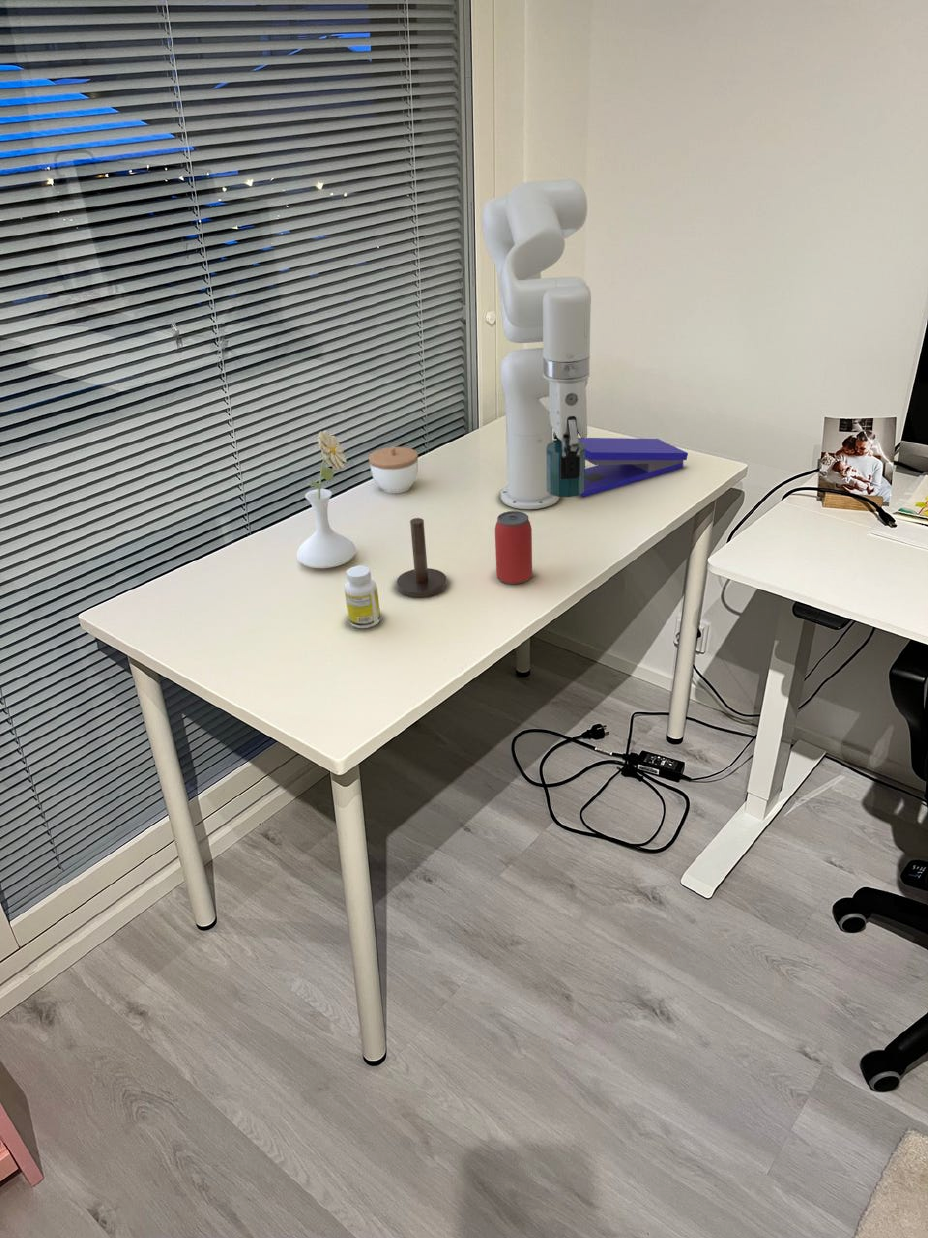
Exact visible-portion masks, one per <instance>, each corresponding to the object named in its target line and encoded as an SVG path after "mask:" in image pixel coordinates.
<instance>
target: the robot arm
mask: <svg viewBox="0 0 928 1238" xmlns="http://www.w3.org/2000/svg"><path fill="white" fill-rule="evenodd" d="M587 215H588V199H587V195H586V193H585V190H584V188H583V186H582V185H581V184H580V183H579V182H578V181H576V180H575V179H572V178H571V179H569V178H565V179H549V180H548V179H547V180H534V181H527V182H523V183H519V184H518V185H516V186H514V187H513V188H511V190H510V191H509V193H508V194H507V195H501V196H497V197H494V198H492V199H489V200H488V201H487V202H486V203H485V204H484V205H483V208H482V211H481V228H482V233H483V239H484V242H485V246H486V248H487V251H488V254H489V256H490V258H491V260H492V263H493V265H494V269H495V271H496V274H497V282H498V283H497V284H498V292H499V303H500V312H501V313H500V314H501V323H502V328H503V333H504V336H505V337H506V339H507V340H508V341H509V342H511V343H514V344H515V343H516V344H532V343H542V347H536V348H524V349H519V350H515V351H511V352H509V353H508V354H506V355H505V356H504V357H503V358H502V360H501V362H500V365H499V376H500V377H499V378H500V382H501V389H502V394H503V401H504V411H505V433H506V434H505V436H506V437H505V438H506V439H505V440H506V442H505V443H506V476H507V477H506V479H507V485H506V486H505V487H504V488H502V490H501V491H500V500H501V501H502V503H504V505H507V506H508V507H512V508H515V509H520V510H539V509H543V508H547V507H551V506H552V505H555V503H557V502H558V501H559V500H560V497H557V496H553V495H551V494H549V493H548V492H547V445H548V444H549V443H551V442H554V441H558V440H561V444H562V456H560V477H561V479H571V478H579V476H580V452H579V438H583V439H586V438H588V409H587V408H588V407H587V404H588V403H587V390H586V388H587V385H588V382H589V377H590V367H591V366H590V365H591V364H590V363H591V362H590V361H591V359H590V358H591V305H592V295H591V288H590V286H588V285H587V283H586V281H585V280H584V279H583V278H581V277H580V276H560V277H559V276H558V277H545V278H544V277H543V278H542V272H543V271H545V270H547V269H549V268H550V267H552V266H553V265H555V264H556V263H557V262H558V261H559V260H560V258H561V257H562V255H563V254H564V251H565V248H566V247H565V246H566V241H565V239H568V238H569V237H571V236H572V235H574V234H575V233H577V232H578V231H579V230H581V228H582V227H583V226H584V224H585V223H586V219H587ZM544 398H548V406H549V407H546V406H545V405H544V403H542V401H541V399H544ZM566 442H569V445H567V447H566Z"/></svg>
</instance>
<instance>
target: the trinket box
mask: <svg viewBox="0 0 928 1238" xmlns="http://www.w3.org/2000/svg"><path fill="white" fill-rule="evenodd" d="M418 459H419V454H418V452H417V450H415V449H414V448H411V447H407V446H388V447H387V446H386V447H383V448H379V449H377V450H374V451H373V452H372V453H370V454H369V456H368V462H369V468H370V473H371V477H372V479H373V481H374V483H375V484H376V485H377V486H378V487H379V488H380V489H382V491H383V492H384V493H387V494H391V495H393V494H395V495H396V494H402V493H406V492H407V491H409V490H410V488H411V486H412V485H413V484H414V483H415V481H416V479H417V477H418V471H419V460H418ZM388 490H389V491H388ZM397 490H398V491H397Z"/></svg>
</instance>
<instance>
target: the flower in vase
mask: <svg viewBox="0 0 928 1238" xmlns="http://www.w3.org/2000/svg"><path fill="white" fill-rule="evenodd" d="M317 437H318V440H317V442H318V445H319V446H318V448H319V450H320V451H321V454H322V456H323V458H322V462H321V466H320V471H319V472H320V473H319V479H318V480H319V481H318V482H315V481H311V483H310V485H309V487H318V488H317V489H311V490H309V491H308V492H306V493H305V494H304V497H305V500H307V501H308V502H309V503H310V505H311V507H312V510H313V512H314V516H315V523H316V529H315V531H314V533H312V535H310V536H309V537H308V538H307V539H306V540H304V541H303V542H302V543H301V545H300V546H299V547H298V549H297V551H296V559H297V560H298V561H299V562H300V563H301V565H304V566H306V567H309V568H313V569H329V568H335V567H339V566H342V565H344V564H346V563H348V562H349V561H351V560H352V559H353V558H354V556H355V554H356V552H357V547H356V545H355V544H354V542H353V541H352V540H351V539H349V537H346V536H345V535H343V534H341V533H339V532H337V531H335V530H333V529H332V527H331V525H330V524H329V517H328V507H329V502H330V499H331V497H332V495H333V492H332V491H331V490H330V489H326V488H321V487H322V485H323V484H324V482H322V478H323V479H324V480H326V481H328V482H330V481H331V480H333V478H334V475H335V474H334V471H333V470H335V471H336V470H338V471H340V470H343V469H346V466H345V465H344V463H347V462H348V461H347V458H346V455H345V453H344V451H345V449H344V447H343V446H341V444H340V442H339V441H338V440H337V437H336V436H335V435H331V434H330V432H329V431H328V430H326V429H325V430H323V431H319V434H318V436H317ZM325 462H326V463H327V464H328V465H329V466H330V467H332V468H333V469H332V468H330V467H327V466H324V464H325Z"/></svg>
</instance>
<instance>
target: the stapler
mask: <svg viewBox="0 0 928 1238" xmlns="http://www.w3.org/2000/svg"><path fill="white" fill-rule="evenodd" d="M578 438H579V441H580V442H582V443H583V444H585V461H587V462H588V463H591V464H592V465H593V466H590V467H585V490H584V492H583V493H582V494H580V495H578V496H580V497H581V498H587V497H589V496H592V495H596V494H599V493H602V492H606V491H610V490H613V489H616V488H620V487H623V486H626V485H630V484H633V483H637V482H640V481H644V480H647V479H650V478H653V477H657V476H660V475H663V474H667V473H670V472H674V471H677V470H680V469H683V468H684V461H688V460H687V459H688V456H689V452H687V451H685V450H683V449H681V448H679V447H677V446H674V445H672V444H670V443H667V442H665V441H663V440H661V439H660V438H620V437H619V438H617V437H614V438H613V437H586V439H583V438H581V437H578Z"/></svg>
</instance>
